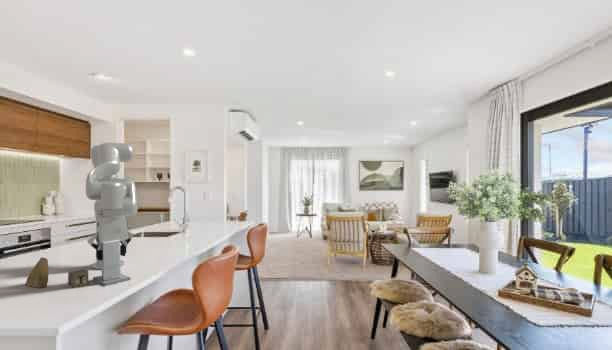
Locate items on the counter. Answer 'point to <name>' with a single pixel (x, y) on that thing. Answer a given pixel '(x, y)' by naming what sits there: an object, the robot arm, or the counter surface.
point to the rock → (38, 274)
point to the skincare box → (111, 260)
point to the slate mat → (113, 281)
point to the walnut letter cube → (78, 277)
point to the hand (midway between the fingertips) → (111, 257)
